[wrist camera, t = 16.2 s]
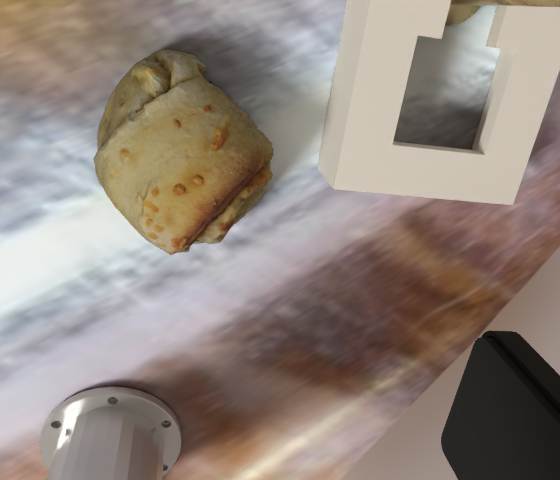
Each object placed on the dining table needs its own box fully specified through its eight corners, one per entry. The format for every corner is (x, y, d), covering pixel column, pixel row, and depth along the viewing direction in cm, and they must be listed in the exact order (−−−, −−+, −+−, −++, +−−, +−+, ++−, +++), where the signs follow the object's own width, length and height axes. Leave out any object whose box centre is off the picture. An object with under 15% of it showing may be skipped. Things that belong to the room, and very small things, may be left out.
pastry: (251, 245, 43) (263, 295, 35) (93, 226, 40) (72, 276, 33) (286, 70, 37) (309, 87, 30) (106, 34, 34) (83, 43, 27)
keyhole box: (478, 183, 43) (512, 205, 38) (317, 167, 40) (333, 189, 36) (565, -96, 35) (622, -110, 30) (371, -139, 32) (401, -162, 28)
